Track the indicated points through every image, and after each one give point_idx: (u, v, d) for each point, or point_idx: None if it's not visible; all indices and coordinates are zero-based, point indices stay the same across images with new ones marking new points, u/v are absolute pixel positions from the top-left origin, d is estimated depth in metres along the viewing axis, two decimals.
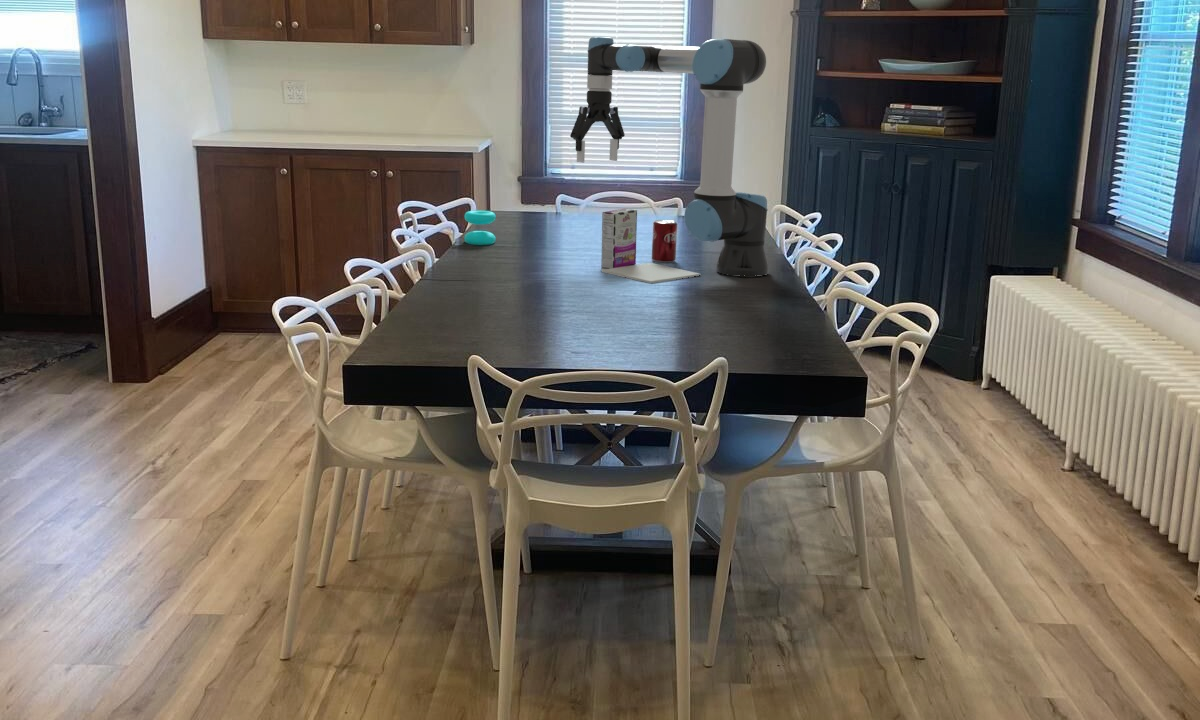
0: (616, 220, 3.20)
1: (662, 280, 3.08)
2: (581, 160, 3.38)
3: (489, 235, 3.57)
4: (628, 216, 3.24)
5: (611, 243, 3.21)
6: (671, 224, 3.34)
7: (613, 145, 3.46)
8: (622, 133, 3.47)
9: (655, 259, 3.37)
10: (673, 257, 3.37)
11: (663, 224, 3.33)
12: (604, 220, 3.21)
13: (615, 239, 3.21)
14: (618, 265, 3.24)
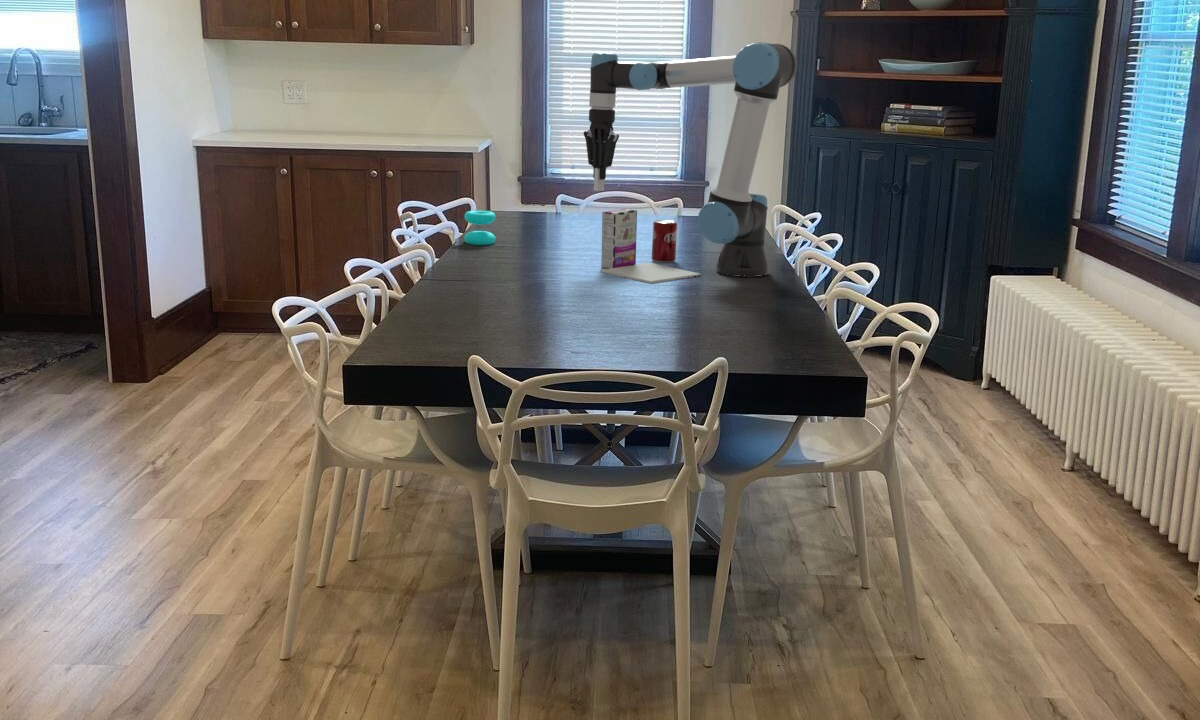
0: (616, 220, 3.20)
1: (662, 280, 3.08)
2: None
3: (489, 235, 3.57)
4: (628, 216, 3.24)
5: (611, 243, 3.21)
6: (671, 224, 3.34)
7: None
8: (604, 162, 3.24)
9: (655, 259, 3.37)
10: (673, 257, 3.37)
11: (663, 224, 3.33)
12: (604, 220, 3.21)
13: (615, 239, 3.21)
14: (618, 265, 3.24)
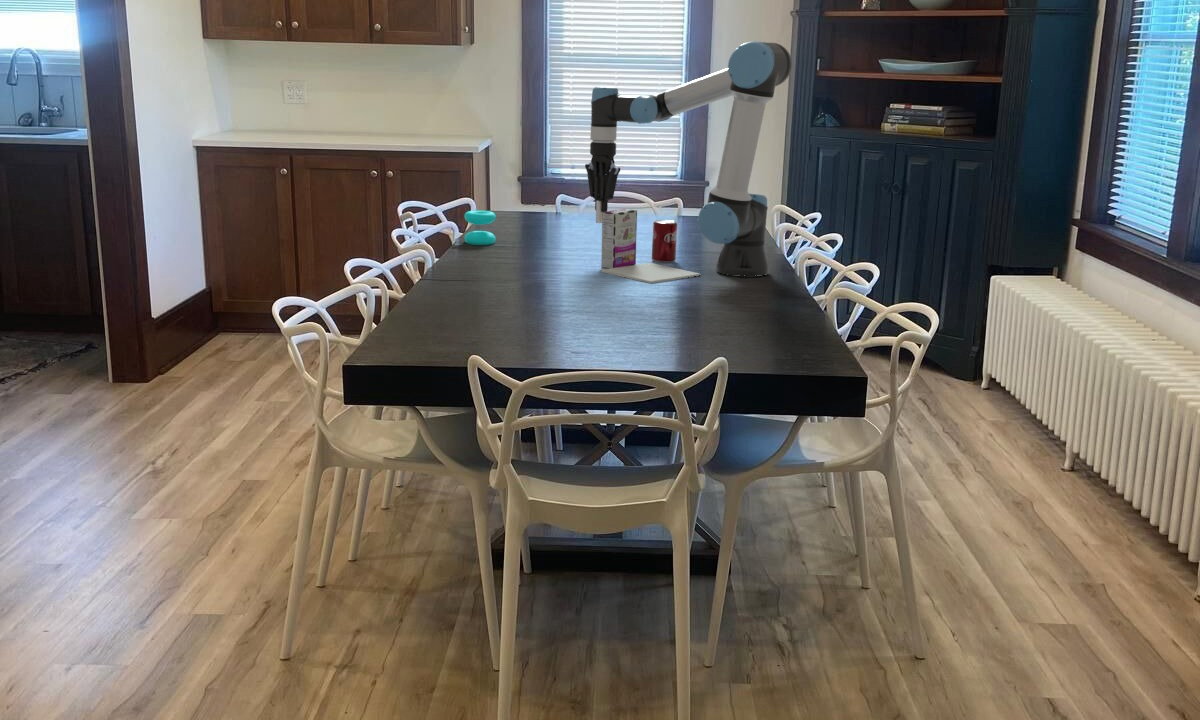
0: (616, 220, 3.20)
1: (662, 280, 3.08)
2: None
3: (489, 235, 3.57)
4: (628, 216, 3.24)
5: (611, 243, 3.21)
6: (671, 224, 3.34)
7: None
8: (605, 195, 3.26)
9: (655, 259, 3.37)
10: (673, 257, 3.37)
11: (663, 224, 3.33)
12: (604, 220, 3.21)
13: (615, 239, 3.21)
14: (618, 265, 3.24)
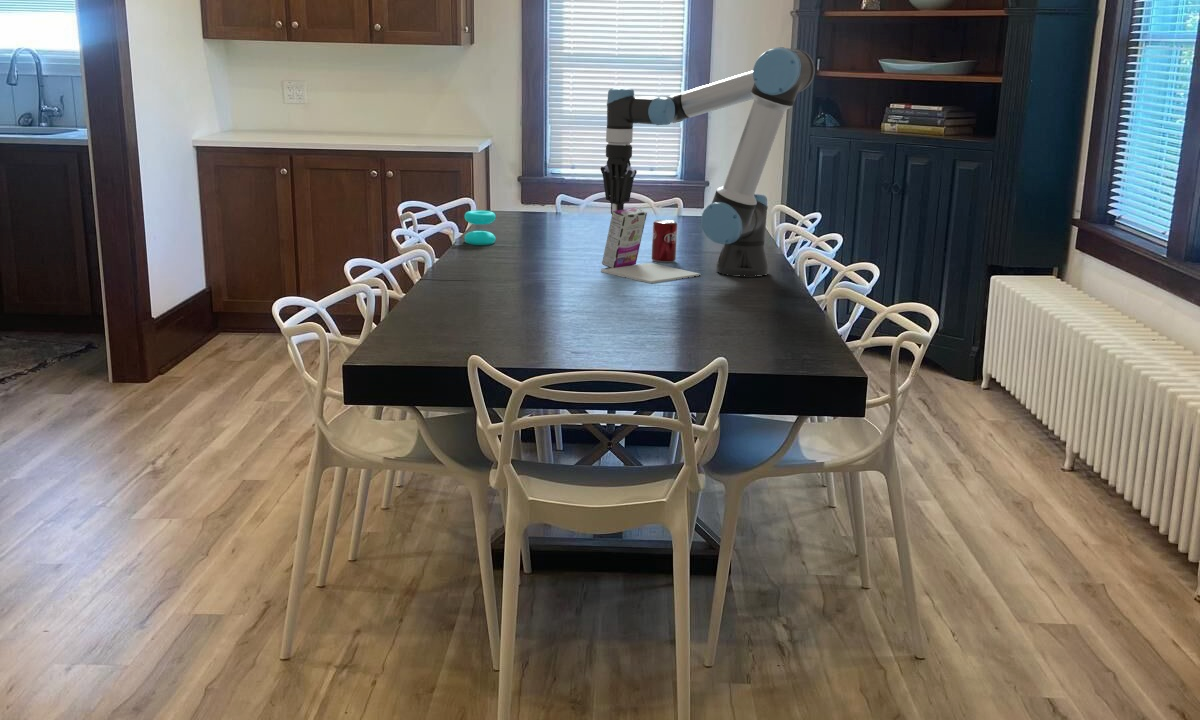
0: (625, 222, 3.18)
1: (662, 280, 3.08)
2: None
3: (489, 235, 3.57)
4: (637, 218, 3.22)
5: (616, 243, 3.20)
6: (671, 224, 3.34)
7: None
8: (621, 198, 3.21)
9: (655, 259, 3.37)
10: (673, 257, 3.37)
11: (663, 224, 3.33)
12: (612, 220, 3.19)
13: (620, 240, 3.20)
14: (619, 265, 3.24)
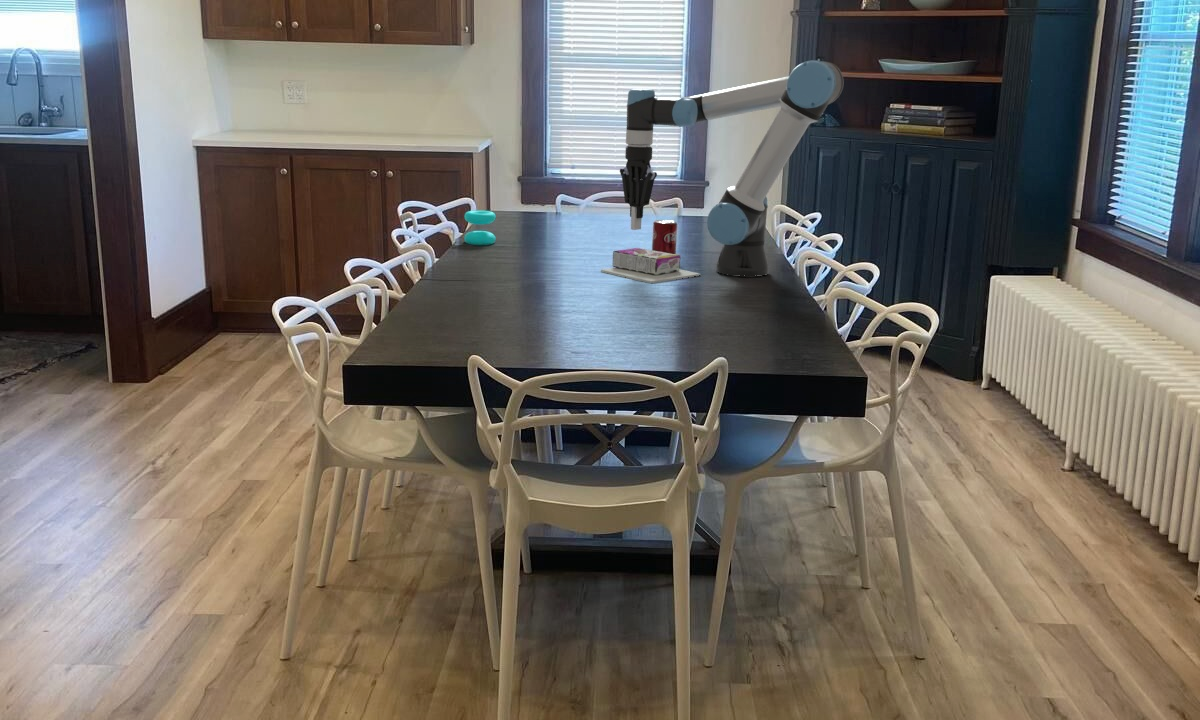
0: (651, 273, 3.15)
1: (662, 280, 3.08)
2: None
3: (489, 235, 3.57)
4: None
5: (632, 266, 3.18)
6: (671, 224, 3.34)
7: None
8: (641, 201, 3.15)
9: None
10: None
11: (663, 224, 3.33)
12: (649, 260, 3.13)
13: None
14: None
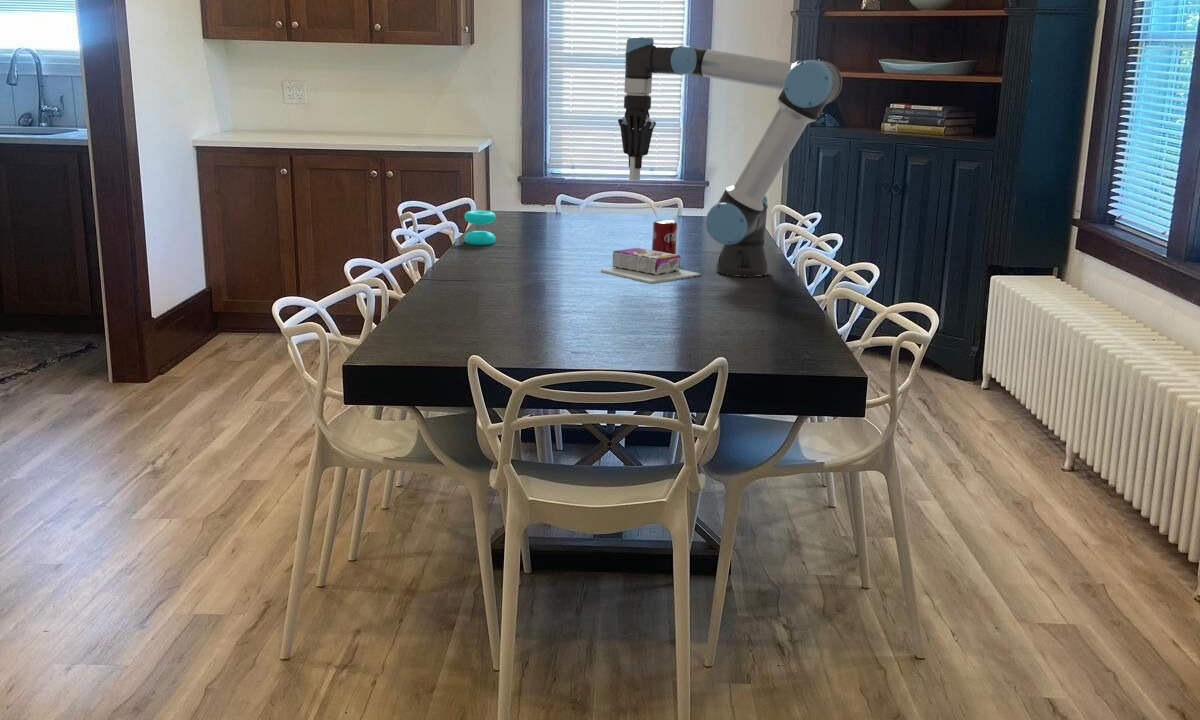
0: (651, 273, 3.15)
1: (662, 280, 3.08)
2: None
3: (489, 235, 3.57)
4: None
5: (632, 266, 3.18)
6: (671, 224, 3.34)
7: None
8: (640, 151, 3.13)
9: None
10: None
11: (663, 224, 3.33)
12: (649, 260, 3.13)
13: None
14: None
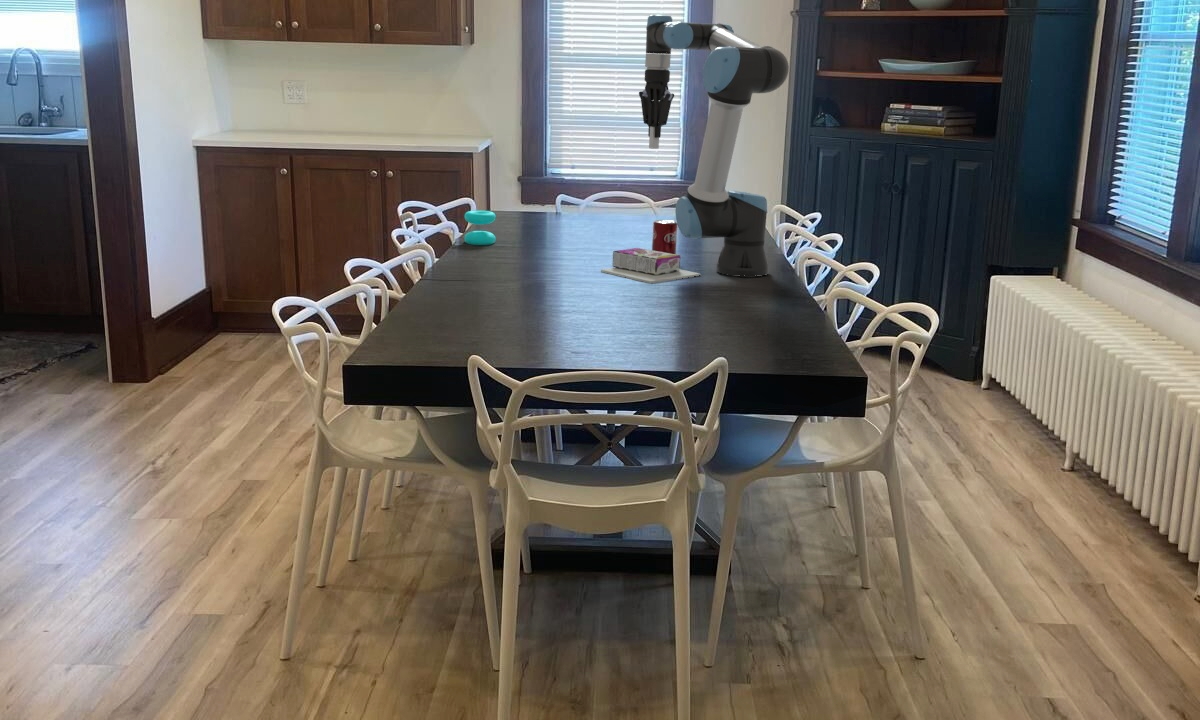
0: (651, 273, 3.15)
1: (662, 280, 3.08)
2: None
3: (489, 235, 3.57)
4: None
5: (632, 266, 3.18)
6: (671, 224, 3.34)
7: None
8: (659, 121, 3.38)
9: None
10: None
11: (663, 224, 3.33)
12: (649, 260, 3.13)
13: None
14: None
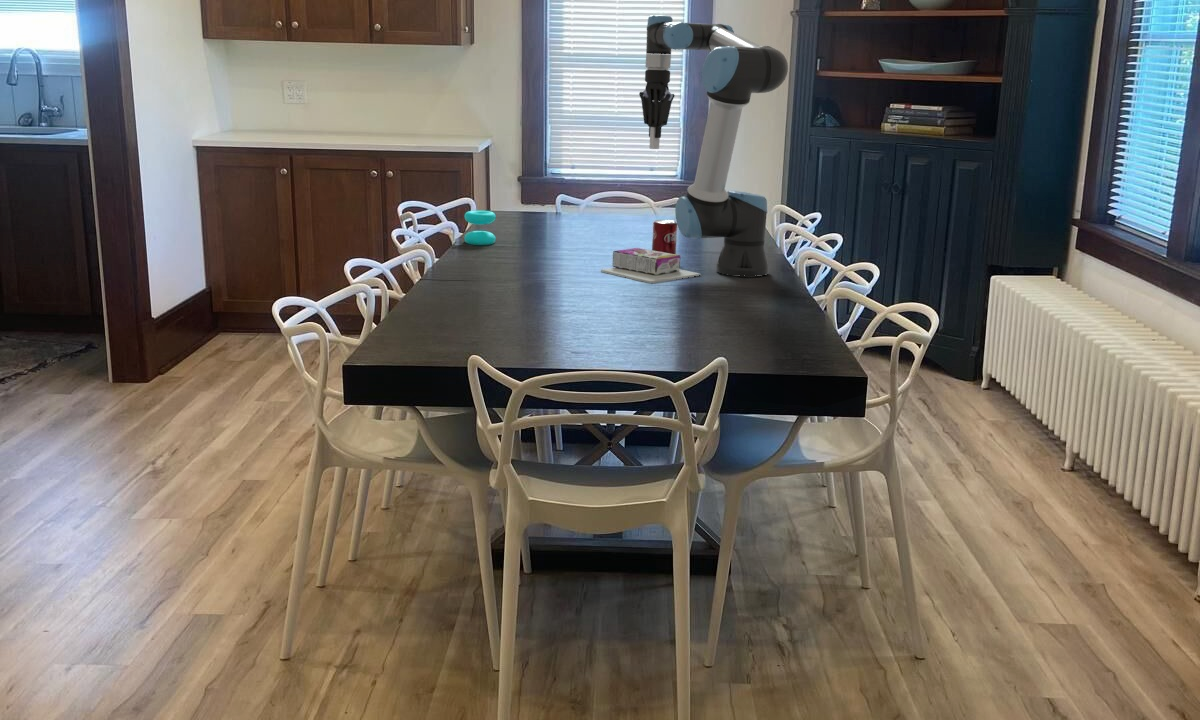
0: (651, 273, 3.15)
1: (662, 280, 3.08)
2: None
3: (489, 235, 3.57)
4: None
5: (632, 266, 3.18)
6: (671, 224, 3.34)
7: None
8: (660, 121, 3.38)
9: None
10: None
11: (663, 224, 3.33)
12: (649, 260, 3.13)
13: None
14: None
